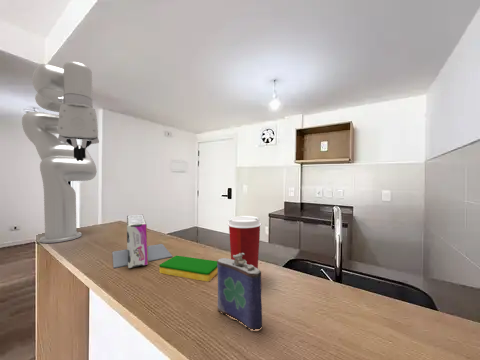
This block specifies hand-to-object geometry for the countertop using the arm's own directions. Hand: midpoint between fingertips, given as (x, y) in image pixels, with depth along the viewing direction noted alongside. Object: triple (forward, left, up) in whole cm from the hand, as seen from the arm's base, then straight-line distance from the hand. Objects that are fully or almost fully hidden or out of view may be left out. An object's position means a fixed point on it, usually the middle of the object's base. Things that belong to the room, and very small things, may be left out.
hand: (79, 160), depth 72 cm
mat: (+16, +16, -29) cm, 37 cm away
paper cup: (+46, +34, -29) cm, 64 cm away
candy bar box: (+10, +15, -23) cm, 29 cm away
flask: (+57, +26, -29) cm, 69 cm away
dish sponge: (+35, +25, -30) cm, 52 cm away
